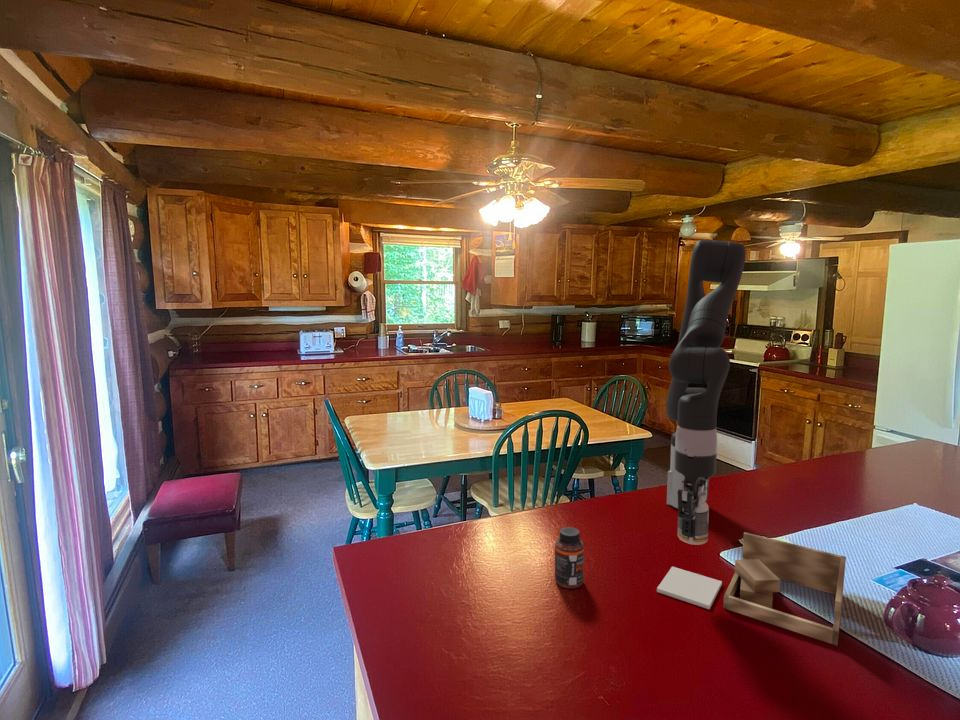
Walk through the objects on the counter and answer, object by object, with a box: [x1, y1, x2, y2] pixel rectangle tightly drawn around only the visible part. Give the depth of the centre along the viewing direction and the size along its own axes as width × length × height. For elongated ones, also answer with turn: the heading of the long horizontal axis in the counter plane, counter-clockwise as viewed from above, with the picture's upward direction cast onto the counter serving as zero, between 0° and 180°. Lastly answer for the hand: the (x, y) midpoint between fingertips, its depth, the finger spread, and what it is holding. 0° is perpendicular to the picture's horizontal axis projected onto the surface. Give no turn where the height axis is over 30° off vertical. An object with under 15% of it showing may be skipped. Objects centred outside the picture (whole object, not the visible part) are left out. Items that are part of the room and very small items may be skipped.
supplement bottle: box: [554, 526, 585, 590], centre depth 108 cm, size 6×6×11 cm
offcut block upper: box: [734, 559, 781, 593], centre depth 103 cm, size 5×8×2 cm, turn 1°
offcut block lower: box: [739, 578, 774, 609], centre depth 103 cm, size 6×9×3 cm, turn 151°
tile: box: [656, 566, 723, 610], centre depth 106 cm, size 10×10×1 cm
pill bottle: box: [677, 491, 710, 546], centre depth 103 cm, size 6×6×10 cm
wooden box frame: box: [722, 531, 847, 646], centre depth 100 cm, size 18×18×8 cm
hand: (692, 529), depth 104 cm, fingers closed on pill bottle, 5 cm apart
